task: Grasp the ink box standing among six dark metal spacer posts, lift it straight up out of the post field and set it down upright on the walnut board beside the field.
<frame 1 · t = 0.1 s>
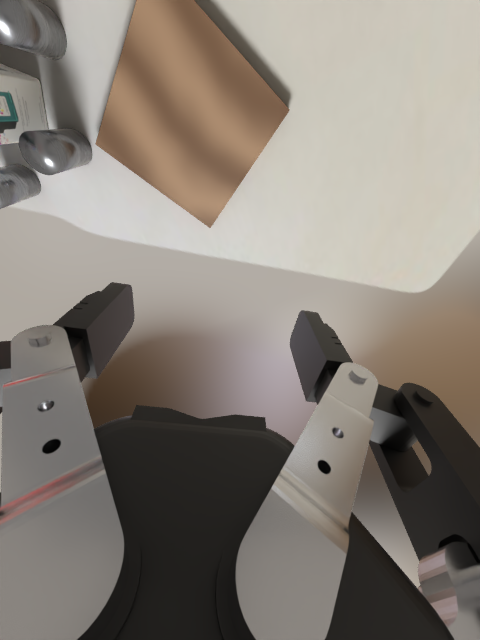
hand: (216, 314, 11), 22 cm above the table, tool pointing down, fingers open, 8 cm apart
walnut board: (190, 127, 24), on the table
ink box: (0, 93, 23), on the table
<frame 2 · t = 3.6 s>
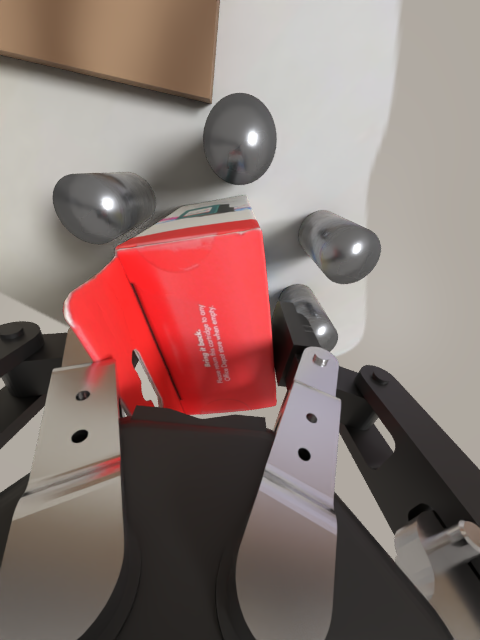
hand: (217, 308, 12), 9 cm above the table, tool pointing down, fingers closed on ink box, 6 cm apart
ink box: (224, 254, 19), on the table, touching gripper
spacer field: (224, 255, 19), on the table
when the fingers open (11 cm above the table, at t = 9.6 s): ink box drops 1 cm, resting on walnut board.
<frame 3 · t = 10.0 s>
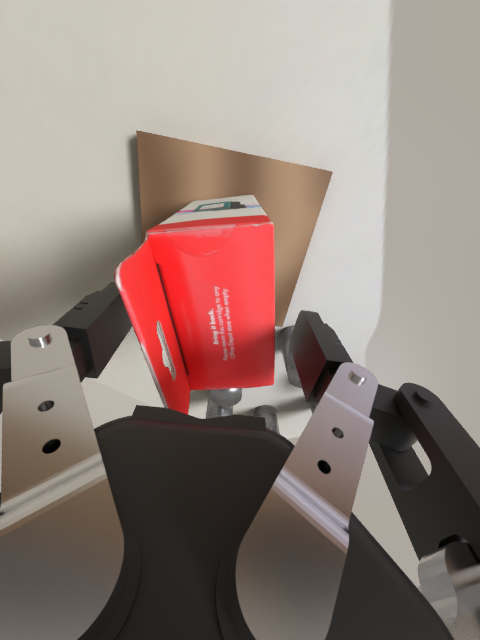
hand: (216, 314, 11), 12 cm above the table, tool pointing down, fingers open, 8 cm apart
walnut board: (225, 246, 21), on the table
ink box: (229, 249, 20), point 1 cm above the table, touching walnut board
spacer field: (277, 379, 31), on the table
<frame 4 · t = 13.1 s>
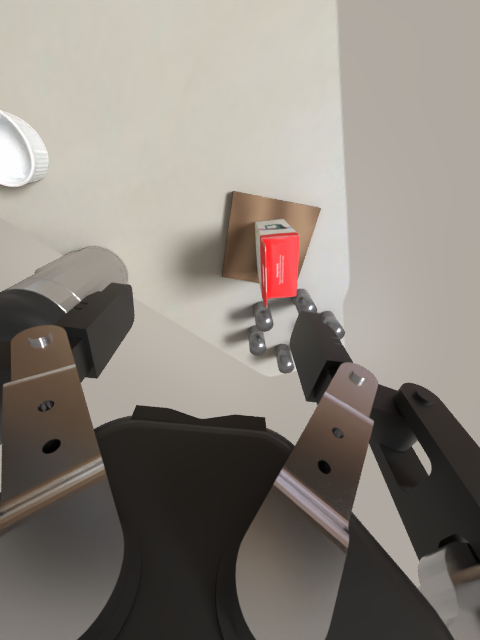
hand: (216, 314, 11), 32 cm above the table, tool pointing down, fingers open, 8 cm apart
walnut board: (266, 243, 41), on the table
ink box: (269, 245, 40), point 1 cm above the table, touching walnut board
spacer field: (290, 324, 51), on the table
ramekin: (21, 149, 34), on the table
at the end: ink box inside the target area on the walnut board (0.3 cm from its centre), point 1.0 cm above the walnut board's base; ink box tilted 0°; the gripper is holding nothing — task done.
